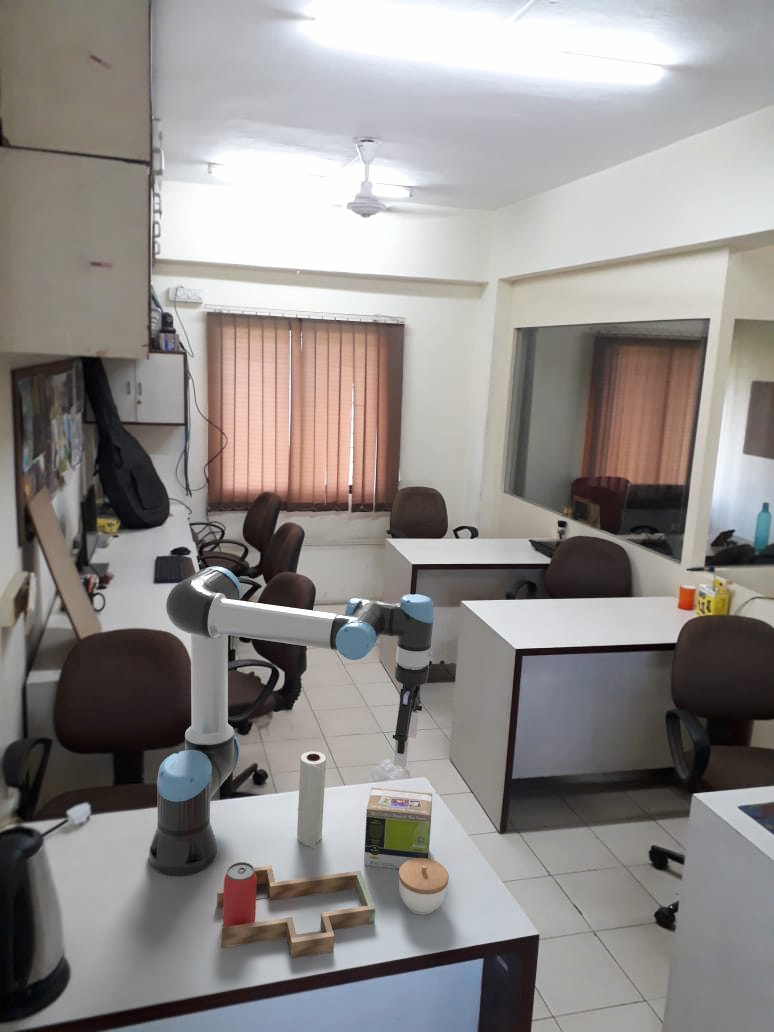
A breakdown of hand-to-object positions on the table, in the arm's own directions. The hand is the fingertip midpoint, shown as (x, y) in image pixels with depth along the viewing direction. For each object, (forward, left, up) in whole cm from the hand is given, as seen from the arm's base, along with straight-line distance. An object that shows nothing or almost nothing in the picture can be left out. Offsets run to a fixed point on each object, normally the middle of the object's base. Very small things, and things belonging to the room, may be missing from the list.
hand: (405, 750), depth 176 cm
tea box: (0, 0, -28) cm, 28 cm away
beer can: (-28, -30, -28) cm, 49 cm away
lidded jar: (+8, -15, -28) cm, 32 cm away
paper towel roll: (-22, +1, -28) cm, 36 cm away
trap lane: (-18, -25, -28) cm, 41 cm away
